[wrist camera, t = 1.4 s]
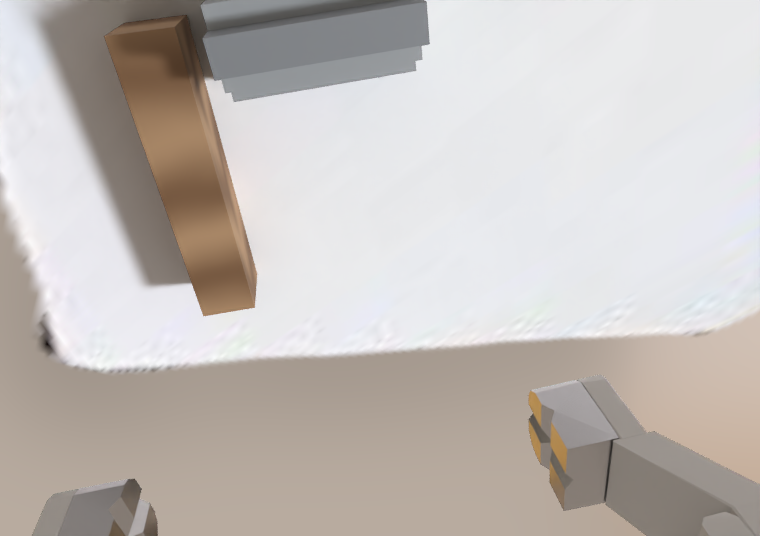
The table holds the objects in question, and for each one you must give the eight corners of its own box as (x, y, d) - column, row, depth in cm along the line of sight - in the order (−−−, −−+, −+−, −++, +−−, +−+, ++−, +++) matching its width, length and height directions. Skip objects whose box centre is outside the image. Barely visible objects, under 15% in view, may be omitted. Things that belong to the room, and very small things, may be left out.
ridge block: (210, -32, 30) (186, -15, 22) (388, -60, 31) (422, -53, 23) (240, 79, 33) (227, 125, 26) (399, 52, 34) (432, 89, 26)
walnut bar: (125, 22, 31) (104, 36, 27) (187, 14, 31) (174, 26, 28) (210, 279, 41) (203, 316, 37) (257, 272, 41) (254, 307, 37)
